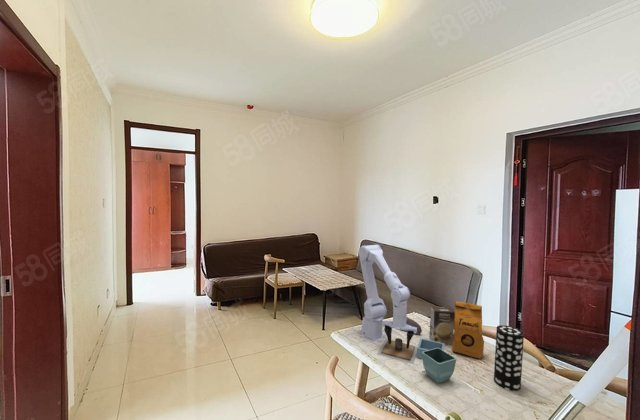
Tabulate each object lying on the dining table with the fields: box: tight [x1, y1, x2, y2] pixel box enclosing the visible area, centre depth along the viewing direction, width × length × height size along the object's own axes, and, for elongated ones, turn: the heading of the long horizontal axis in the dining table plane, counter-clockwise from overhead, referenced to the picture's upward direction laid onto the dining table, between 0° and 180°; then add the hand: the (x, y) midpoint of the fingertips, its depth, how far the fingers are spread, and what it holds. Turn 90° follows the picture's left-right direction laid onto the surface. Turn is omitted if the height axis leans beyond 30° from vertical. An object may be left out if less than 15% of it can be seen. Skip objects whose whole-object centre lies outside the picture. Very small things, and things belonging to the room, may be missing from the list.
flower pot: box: [421, 348, 457, 384], centre depth 109 cm, size 9×9×9 cm
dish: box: [416, 337, 446, 360], centre depth 124 cm, size 10×10×4 cm
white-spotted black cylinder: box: [493, 324, 525, 392], centre depth 107 cm, size 8×8×20 cm
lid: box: [381, 337, 416, 361], centre depth 127 cm, size 12×12×5 cm
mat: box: [376, 338, 418, 365], centre depth 128 cm, size 15×15×1 cm
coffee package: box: [451, 301, 485, 360], centre depth 128 cm, size 10×12×22 cm
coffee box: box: [428, 305, 455, 347], centre depth 136 cm, size 9×6×16 cm
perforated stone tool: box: [403, 316, 423, 335], centre depth 147 cm, size 15×5×7 cm, turn 43°
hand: (398, 345), depth 127 cm, fingers open, 7 cm apart
